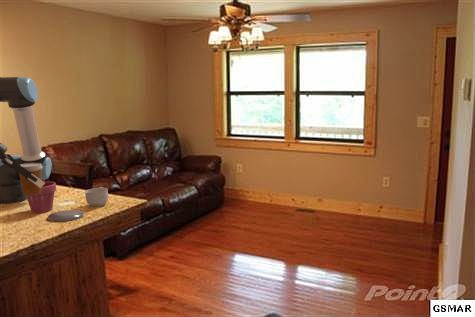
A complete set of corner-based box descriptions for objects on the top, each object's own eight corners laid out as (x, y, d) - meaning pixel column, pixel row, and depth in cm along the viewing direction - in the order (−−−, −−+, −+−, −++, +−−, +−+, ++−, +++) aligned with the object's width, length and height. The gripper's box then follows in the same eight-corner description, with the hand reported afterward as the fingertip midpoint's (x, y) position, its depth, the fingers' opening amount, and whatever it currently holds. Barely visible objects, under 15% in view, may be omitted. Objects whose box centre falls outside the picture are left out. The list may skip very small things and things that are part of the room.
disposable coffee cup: (25, 190, 178) (22, 162, 176) (48, 190, 179) (46, 162, 177) (15, 196, 169) (12, 167, 167) (39, 195, 169) (37, 166, 167)
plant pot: (27, 208, 205) (24, 182, 203) (58, 205, 210) (56, 180, 208) (23, 216, 192) (21, 189, 190) (57, 212, 197) (54, 186, 195)
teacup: (101, 208, 203) (100, 192, 202) (81, 207, 205) (80, 191, 204) (115, 201, 216) (114, 186, 215) (96, 200, 219) (95, 185, 217)
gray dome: (50, 213, 196) (50, 211, 195) (84, 210, 200) (84, 208, 200) (45, 223, 181) (45, 221, 181) (82, 219, 186) (82, 217, 186)
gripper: (-19, 153, 170) (28, 185, 182) (-12, 160, 153) (39, 195, 165) (-5, 138, 172) (40, 172, 185) (3, 144, 155) (52, 180, 168)
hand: (40, 183), depth 175 cm, fingers closed on disposable coffee cup, 9 cm apart
